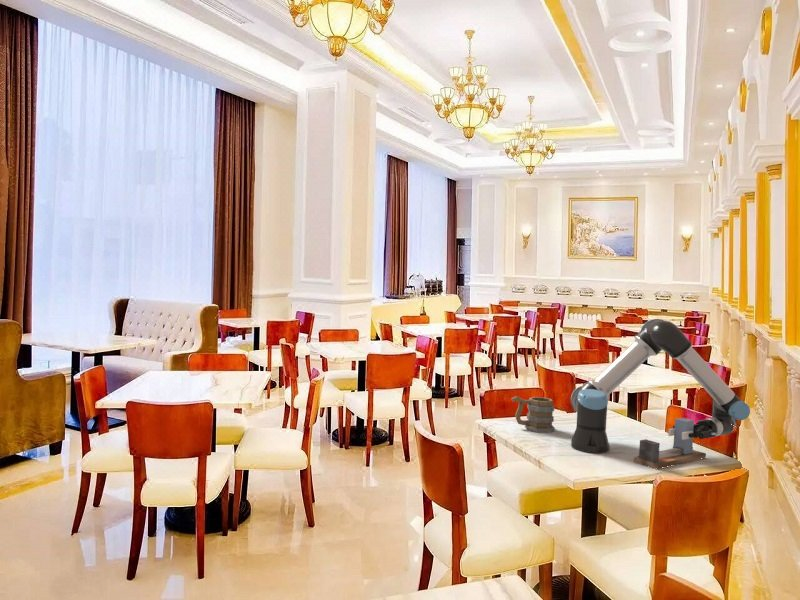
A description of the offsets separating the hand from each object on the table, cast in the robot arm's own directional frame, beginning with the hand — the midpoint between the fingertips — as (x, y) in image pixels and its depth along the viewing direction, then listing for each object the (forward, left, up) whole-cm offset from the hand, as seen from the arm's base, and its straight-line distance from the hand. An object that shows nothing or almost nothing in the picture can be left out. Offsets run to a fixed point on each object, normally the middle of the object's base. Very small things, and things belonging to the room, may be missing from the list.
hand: (675, 434), depth 242 cm
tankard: (-60, -18, -10) cm, 63 cm away
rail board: (0, -3, -10) cm, 10 cm away
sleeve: (0, +5, -8) cm, 9 cm away
